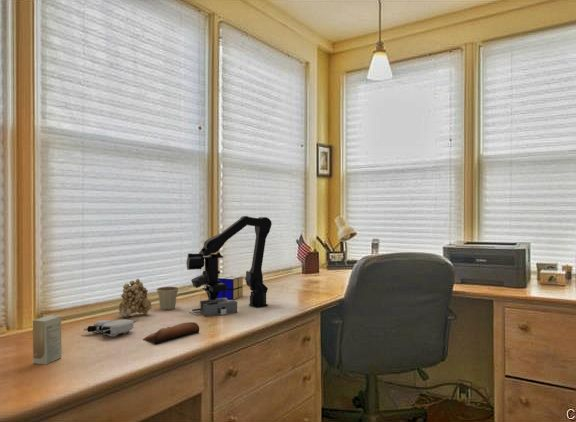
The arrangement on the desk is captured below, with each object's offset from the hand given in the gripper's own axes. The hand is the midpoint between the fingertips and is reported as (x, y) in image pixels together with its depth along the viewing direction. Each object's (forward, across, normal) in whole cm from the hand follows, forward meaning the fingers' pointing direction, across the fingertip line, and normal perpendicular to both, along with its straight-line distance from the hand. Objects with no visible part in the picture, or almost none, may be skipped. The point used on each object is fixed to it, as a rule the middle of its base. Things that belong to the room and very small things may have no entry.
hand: (211, 305), depth 192 cm
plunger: (+2, +7, -2) cm, 7 cm away
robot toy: (+2, +16, -44) cm, 47 cm away
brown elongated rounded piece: (+2, +31, -27) cm, 41 cm away
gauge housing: (+2, +4, -1) cm, 4 cm away
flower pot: (+2, -12, -15) cm, 20 cm away
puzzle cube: (+2, -21, +18) cm, 27 cm away
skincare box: (+2, +36, -65) cm, 74 cm away
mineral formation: (+2, -6, -30) cm, 31 cm away
